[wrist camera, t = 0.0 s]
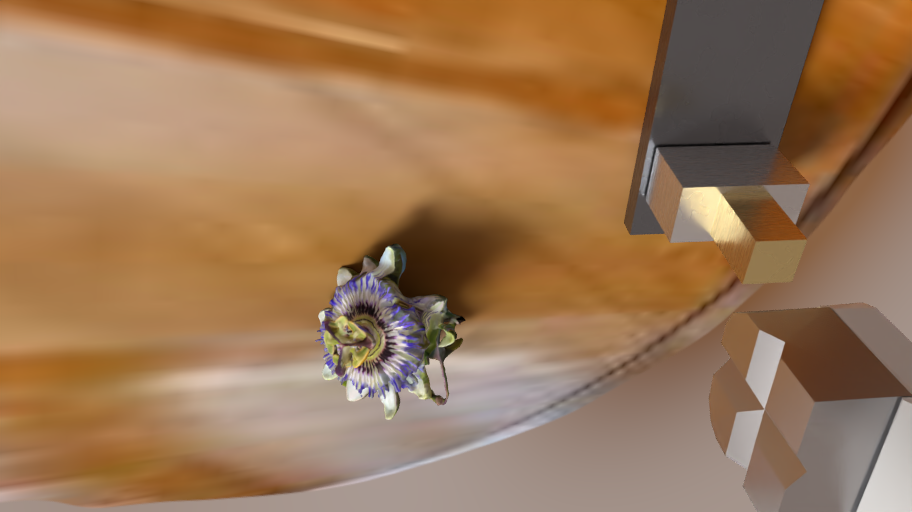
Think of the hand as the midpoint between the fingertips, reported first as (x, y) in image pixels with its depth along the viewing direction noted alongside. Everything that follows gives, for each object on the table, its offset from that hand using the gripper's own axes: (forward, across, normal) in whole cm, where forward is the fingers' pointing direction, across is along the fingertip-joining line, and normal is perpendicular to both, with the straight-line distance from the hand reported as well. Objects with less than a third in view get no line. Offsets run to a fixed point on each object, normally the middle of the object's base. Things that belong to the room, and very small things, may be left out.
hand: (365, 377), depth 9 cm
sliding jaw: (+39, -23, +16) cm, 48 cm away
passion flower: (+42, -2, +27) cm, 50 cm away
